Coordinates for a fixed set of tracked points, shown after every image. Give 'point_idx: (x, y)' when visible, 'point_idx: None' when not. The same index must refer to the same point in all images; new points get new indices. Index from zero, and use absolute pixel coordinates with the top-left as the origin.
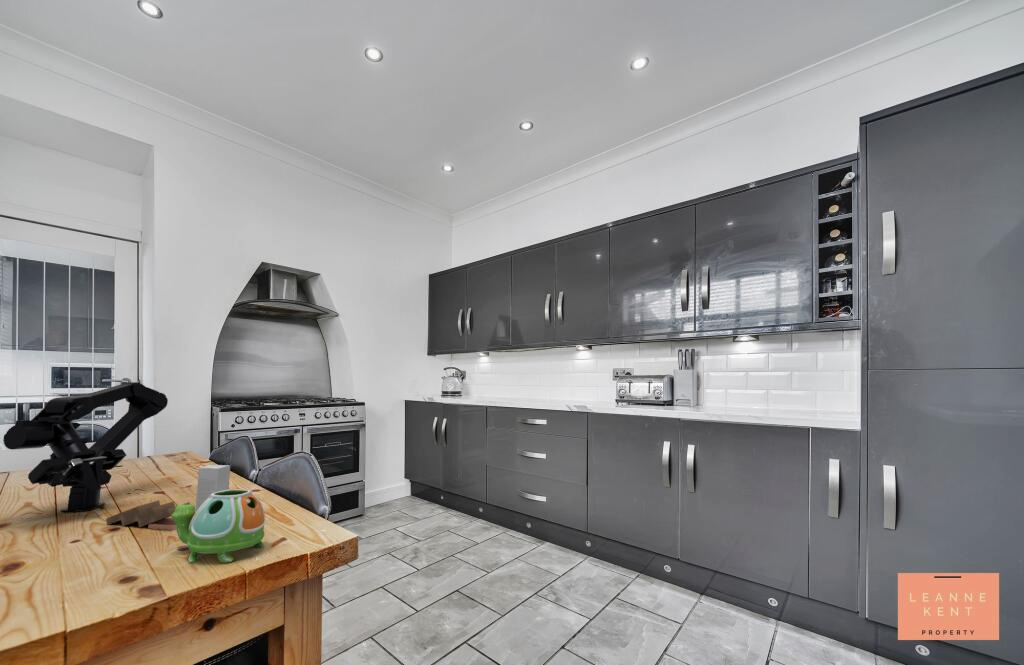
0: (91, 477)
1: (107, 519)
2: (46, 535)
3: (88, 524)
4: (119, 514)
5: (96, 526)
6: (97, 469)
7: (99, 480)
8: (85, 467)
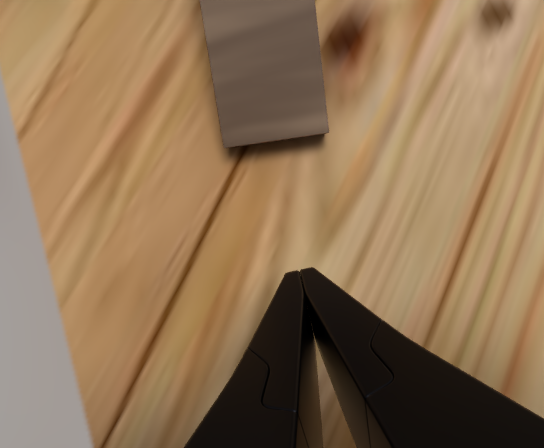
0: (368, 315)
1: (327, 123)
2: (518, 215)
3: (351, 227)
4: (318, 37)
5: (354, 156)
6: (280, 398)
7: (284, 304)
8: (490, 413)
